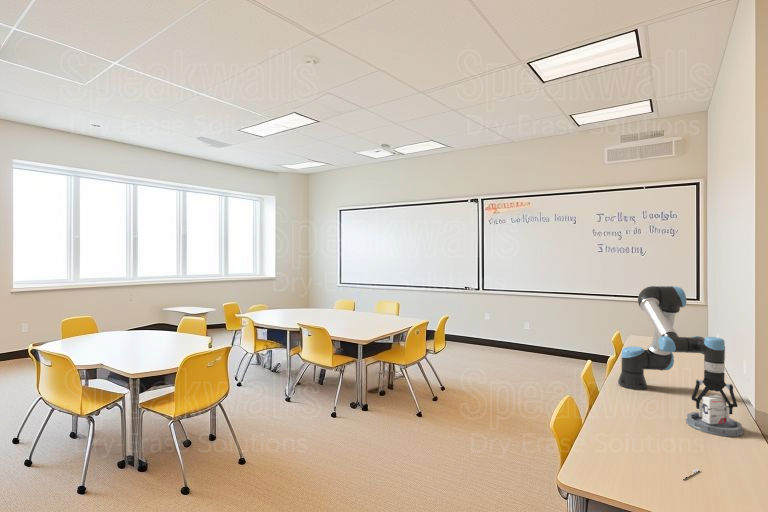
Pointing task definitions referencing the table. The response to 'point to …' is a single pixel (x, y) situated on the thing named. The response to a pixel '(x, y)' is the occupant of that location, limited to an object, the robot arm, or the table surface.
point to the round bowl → (715, 426)
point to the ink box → (713, 409)
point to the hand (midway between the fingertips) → (713, 418)
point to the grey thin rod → (695, 470)
